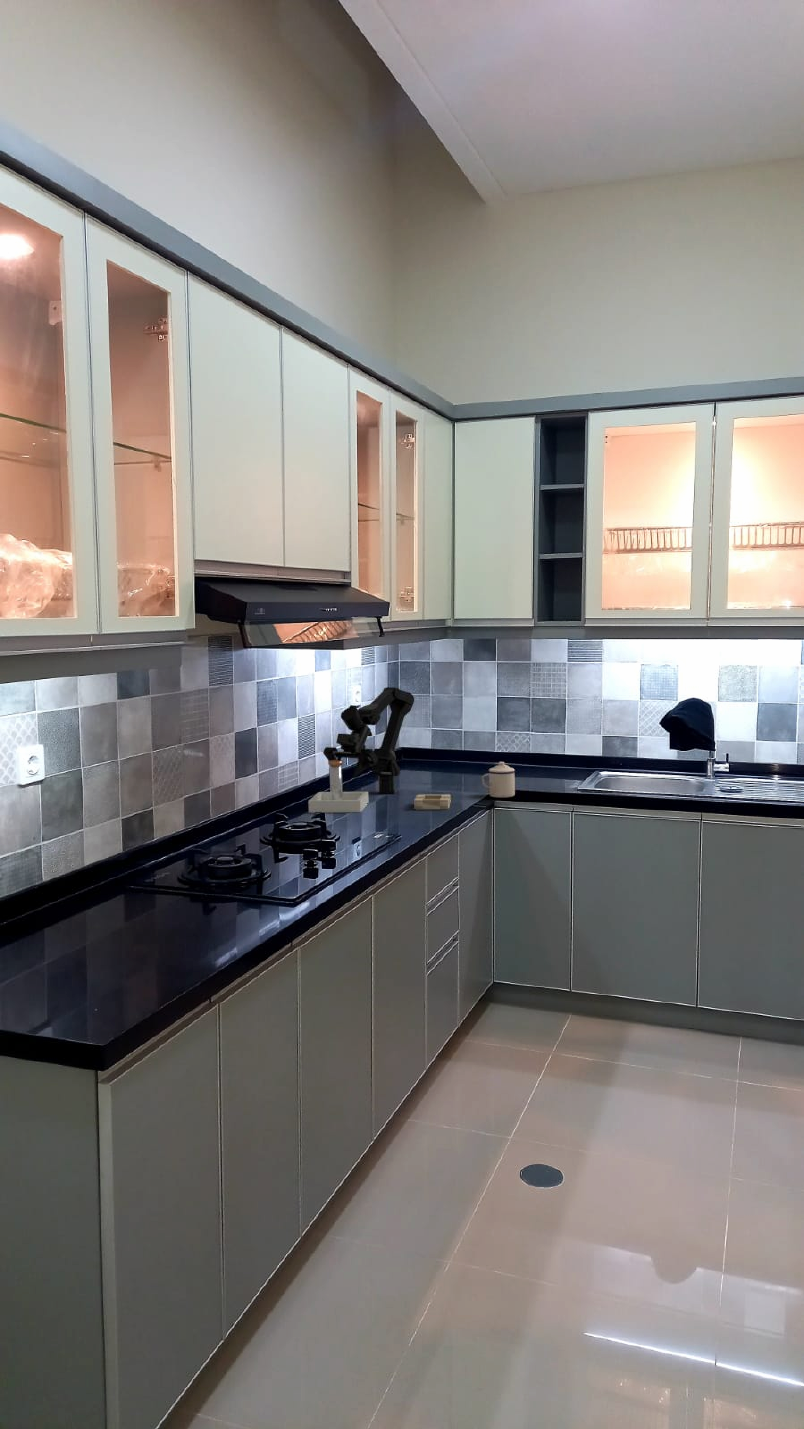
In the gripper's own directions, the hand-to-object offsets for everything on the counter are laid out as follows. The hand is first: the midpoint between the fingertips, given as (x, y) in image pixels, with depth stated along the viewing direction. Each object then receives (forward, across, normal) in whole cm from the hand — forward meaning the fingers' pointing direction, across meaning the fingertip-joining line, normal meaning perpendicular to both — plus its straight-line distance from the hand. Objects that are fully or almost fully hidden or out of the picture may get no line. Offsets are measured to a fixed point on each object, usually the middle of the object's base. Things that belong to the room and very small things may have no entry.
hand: (341, 775), depth 337 cm
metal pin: (+9, 0, +4) cm, 10 cm away
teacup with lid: (-18, +40, +34) cm, 56 cm away
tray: (+9, 0, +6) cm, 10 cm away
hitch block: (0, +28, +15) cm, 32 cm away
